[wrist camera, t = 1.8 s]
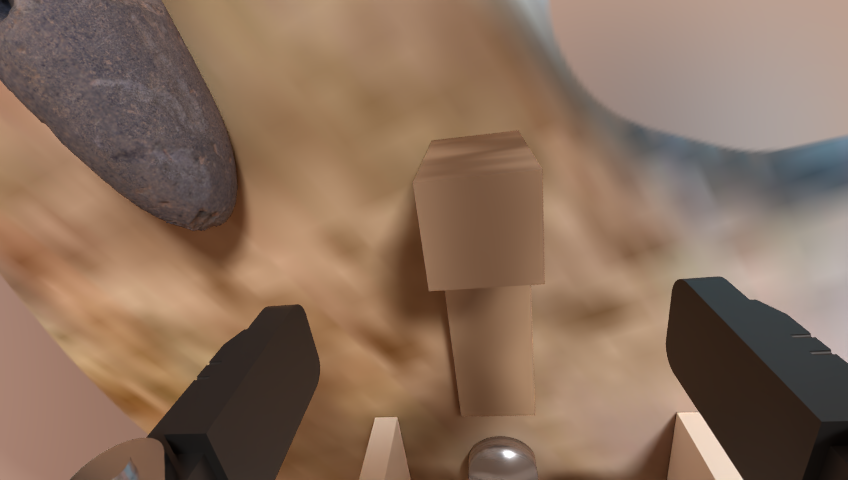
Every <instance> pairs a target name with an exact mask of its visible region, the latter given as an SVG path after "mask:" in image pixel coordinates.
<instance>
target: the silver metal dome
mask: <svg viewBox="0 0 848 480" xmlns="http://www.w3.org/2000/svg"><path fill="white" fill-rule="evenodd" d="M469 480H538V474H537V468H536V461H535V456H534V453H533V451H532V450H531V449H530V448H529V447H528V446H527V445H526V444H525V443H523V442H521V441H519V440H517V439H514V438H510V437H502V436H498V437H490V438H486V439H484V440H482V441H480V442H478V443H477V444H475V445H474V446H473V448H472V449H471V451H470V453H469Z"/></svg>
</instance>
